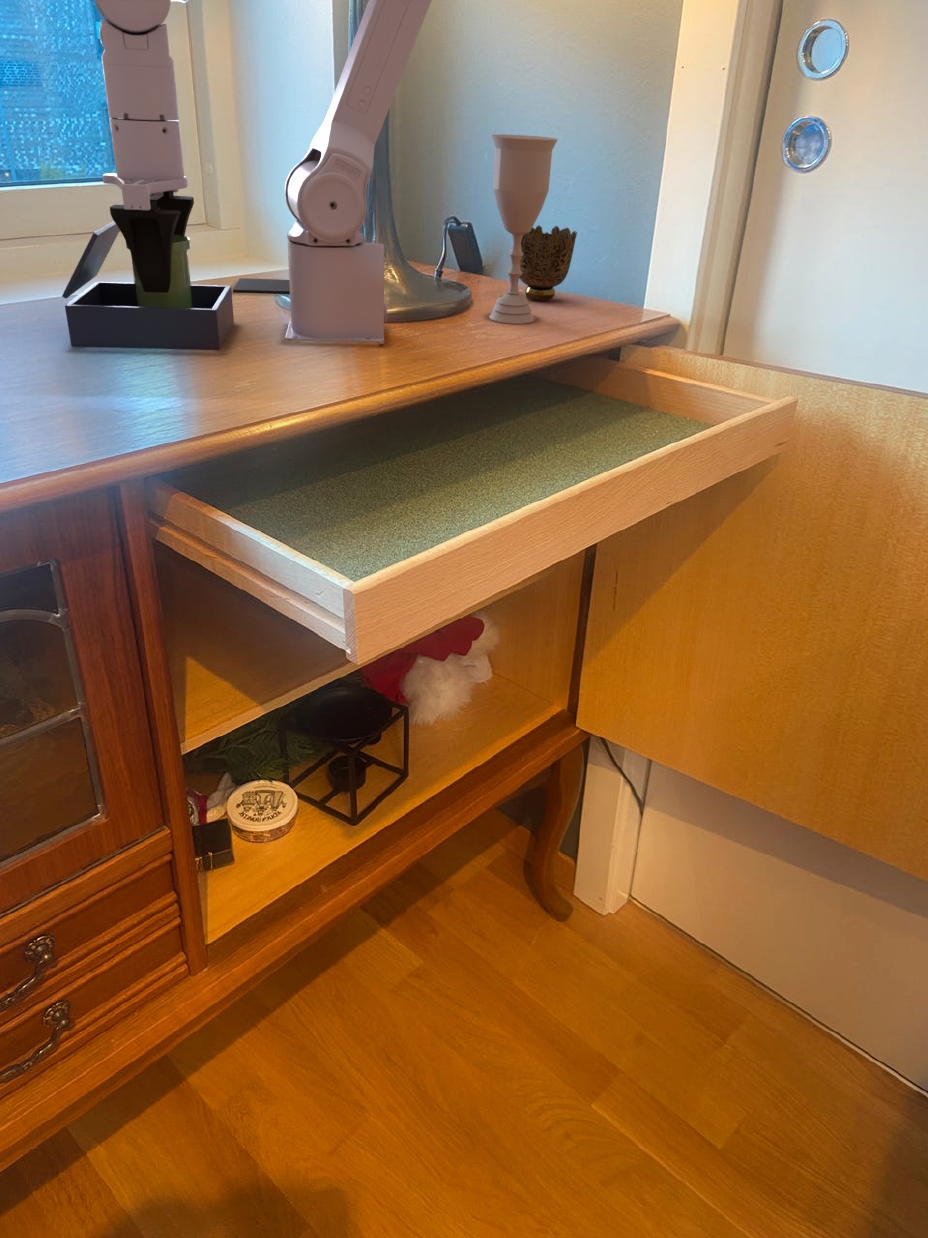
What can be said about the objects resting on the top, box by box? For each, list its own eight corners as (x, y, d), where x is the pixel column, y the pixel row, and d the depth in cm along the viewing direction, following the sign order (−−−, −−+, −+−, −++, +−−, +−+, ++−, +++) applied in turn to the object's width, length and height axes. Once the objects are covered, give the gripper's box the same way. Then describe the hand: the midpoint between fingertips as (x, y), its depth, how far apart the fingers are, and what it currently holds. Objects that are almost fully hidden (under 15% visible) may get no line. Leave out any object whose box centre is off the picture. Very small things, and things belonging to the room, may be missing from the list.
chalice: (543, 327, 100) (560, 140, 91) (481, 324, 100) (491, 137, 91) (539, 312, 106) (555, 136, 97) (481, 309, 106) (490, 133, 97)
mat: (297, 284, 114) (297, 279, 114) (294, 295, 108) (293, 291, 108) (239, 282, 113) (239, 277, 113) (233, 293, 107) (232, 289, 107)
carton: (72, 351, 83) (64, 305, 81) (101, 323, 92) (95, 281, 90) (220, 355, 84) (216, 309, 82) (234, 326, 94) (231, 285, 92)
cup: (505, 302, 110) (510, 230, 106) (512, 290, 117) (517, 222, 113) (567, 307, 110) (575, 235, 106) (571, 295, 116) (578, 227, 112)
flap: (66, 298, 81) (61, 296, 80) (96, 275, 90) (92, 273, 90) (98, 235, 78) (93, 232, 78) (126, 217, 88) (122, 215, 88)
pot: (202, 327, 91) (194, 234, 87) (193, 341, 86) (184, 244, 82) (143, 325, 90) (132, 232, 86) (131, 339, 85) (118, 241, 81)
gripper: (115, 113, 85) (134, 269, 92) (73, 120, 72) (99, 300, 79) (194, 117, 86) (207, 271, 92) (165, 125, 73) (183, 302, 80)
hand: (162, 285), depth 86 cm, fingers closed on pot, 5 cm apart
